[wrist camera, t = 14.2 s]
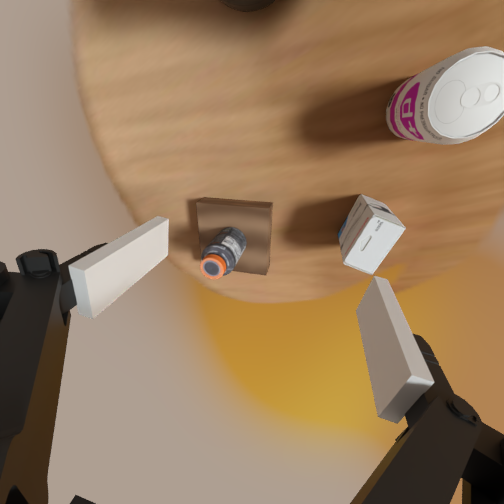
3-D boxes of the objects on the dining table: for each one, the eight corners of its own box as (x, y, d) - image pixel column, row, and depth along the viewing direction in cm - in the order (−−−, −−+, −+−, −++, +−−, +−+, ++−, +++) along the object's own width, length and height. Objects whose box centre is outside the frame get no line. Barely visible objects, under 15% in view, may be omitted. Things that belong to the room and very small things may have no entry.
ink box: (360, 244, 47) (372, 277, 37) (336, 234, 47) (341, 264, 37) (386, 203, 43) (408, 227, 32) (360, 192, 43) (373, 213, 33)
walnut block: (204, 197, 50) (196, 202, 46) (272, 202, 47) (269, 208, 44) (209, 257, 56) (202, 266, 53) (269, 265, 54) (266, 275, 50)
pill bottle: (219, 252, 50) (195, 283, 40) (216, 225, 48) (190, 250, 38) (247, 254, 49) (230, 287, 39) (246, 226, 46) (227, 253, 36)
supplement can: (384, 144, 39) (418, 153, 26) (384, 84, 36) (423, 59, 23) (446, 132, 36) (517, 134, 23) (451, 65, 33) (538, 25, 20)
